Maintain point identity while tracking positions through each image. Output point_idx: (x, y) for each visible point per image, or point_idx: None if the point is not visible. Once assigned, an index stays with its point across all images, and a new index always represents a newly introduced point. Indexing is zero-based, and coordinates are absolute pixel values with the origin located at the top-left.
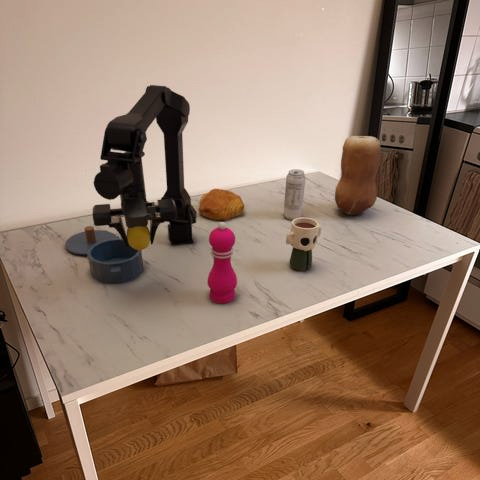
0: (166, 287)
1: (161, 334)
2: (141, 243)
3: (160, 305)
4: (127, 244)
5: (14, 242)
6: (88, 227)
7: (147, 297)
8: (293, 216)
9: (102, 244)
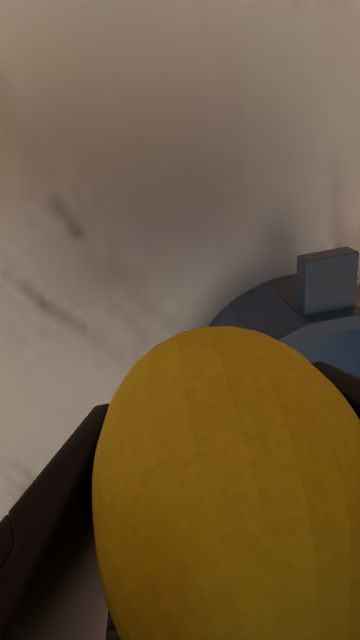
0: (76, 242)
1: None
2: (185, 350)
3: (73, 67)
4: (324, 372)
5: None
6: None
7: (152, 155)
8: None
9: None
